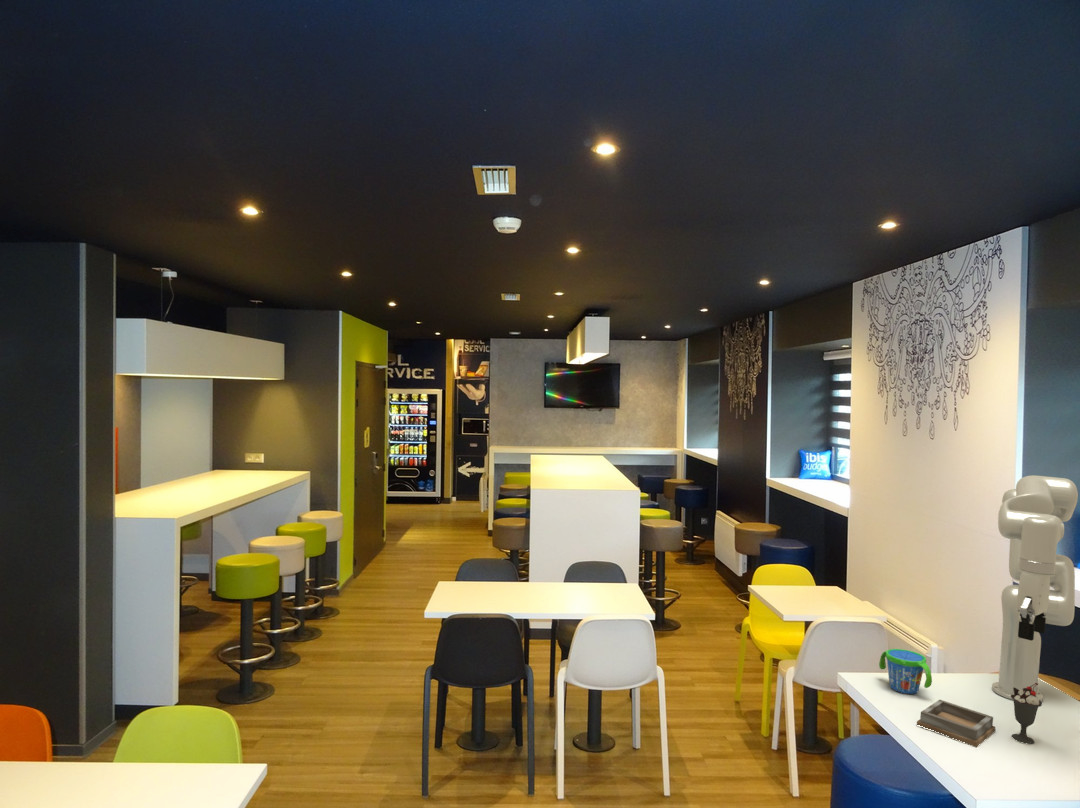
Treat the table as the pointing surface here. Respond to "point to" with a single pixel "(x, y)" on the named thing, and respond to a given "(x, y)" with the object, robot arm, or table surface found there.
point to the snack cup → (905, 670)
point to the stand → (957, 722)
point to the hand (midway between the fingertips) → (1031, 635)
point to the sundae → (1025, 711)
